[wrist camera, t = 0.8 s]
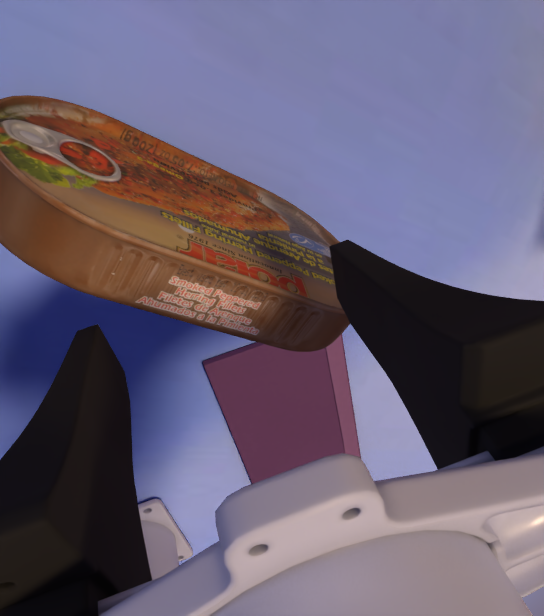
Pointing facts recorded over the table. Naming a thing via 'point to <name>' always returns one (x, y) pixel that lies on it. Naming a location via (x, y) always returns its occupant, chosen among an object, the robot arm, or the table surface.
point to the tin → (161, 228)
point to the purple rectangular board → (285, 405)
